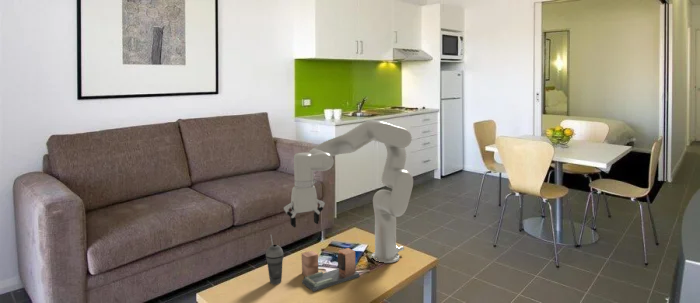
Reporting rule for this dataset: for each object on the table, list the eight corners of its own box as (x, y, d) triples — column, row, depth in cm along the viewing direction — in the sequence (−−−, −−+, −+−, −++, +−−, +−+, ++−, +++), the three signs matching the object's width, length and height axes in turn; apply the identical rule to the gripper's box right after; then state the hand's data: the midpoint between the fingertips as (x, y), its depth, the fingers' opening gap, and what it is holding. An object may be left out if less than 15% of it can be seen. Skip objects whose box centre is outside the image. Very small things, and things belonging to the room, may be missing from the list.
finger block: (311, 269, 197) (310, 250, 195) (318, 274, 192) (317, 254, 191) (301, 272, 194) (300, 252, 193) (308, 277, 189) (307, 257, 188)
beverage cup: (281, 286, 182) (279, 238, 178) (263, 285, 183) (261, 237, 180) (287, 278, 189) (285, 232, 185) (270, 277, 190) (268, 231, 187)
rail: (346, 269, 197) (346, 246, 195) (359, 276, 190) (359, 252, 188) (302, 283, 184) (301, 258, 183) (313, 291, 177) (312, 266, 175)
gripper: (320, 179, 191) (321, 219, 193) (280, 184, 183) (281, 225, 186) (327, 183, 184) (328, 224, 187) (286, 188, 177) (287, 230, 179)
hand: (305, 224), depth 186 cm, fingers open, 9 cm apart
